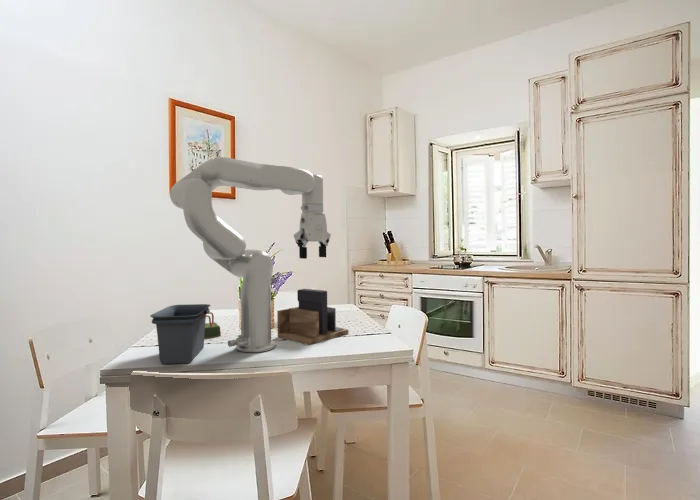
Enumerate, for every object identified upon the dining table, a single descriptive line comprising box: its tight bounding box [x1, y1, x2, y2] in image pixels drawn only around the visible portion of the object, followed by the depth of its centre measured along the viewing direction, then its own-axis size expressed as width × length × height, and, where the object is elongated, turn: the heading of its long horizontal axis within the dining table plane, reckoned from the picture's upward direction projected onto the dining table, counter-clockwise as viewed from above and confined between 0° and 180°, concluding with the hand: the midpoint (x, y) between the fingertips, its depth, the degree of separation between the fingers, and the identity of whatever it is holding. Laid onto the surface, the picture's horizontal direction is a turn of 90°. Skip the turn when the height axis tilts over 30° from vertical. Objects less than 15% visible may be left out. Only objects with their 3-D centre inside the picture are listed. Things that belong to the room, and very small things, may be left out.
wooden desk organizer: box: [276, 306, 349, 346], centre depth 151 cm, size 20×16×10 cm
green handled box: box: [204, 322, 221, 339], centre depth 150 cm, size 8×16×4 cm, turn 119°
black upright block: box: [296, 288, 328, 334], centre depth 150 cm, size 11×4×15 cm, turn 56°
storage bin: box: [149, 303, 215, 365], centre depth 126 cm, size 21×16×14 cm
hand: (313, 257), depth 149 cm, fingers open, 9 cm apart
